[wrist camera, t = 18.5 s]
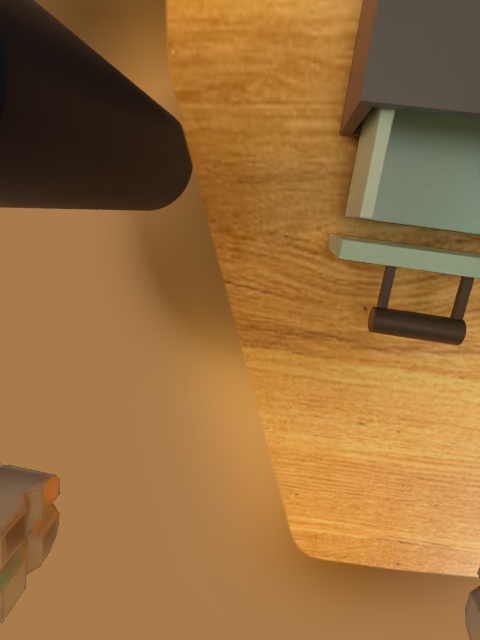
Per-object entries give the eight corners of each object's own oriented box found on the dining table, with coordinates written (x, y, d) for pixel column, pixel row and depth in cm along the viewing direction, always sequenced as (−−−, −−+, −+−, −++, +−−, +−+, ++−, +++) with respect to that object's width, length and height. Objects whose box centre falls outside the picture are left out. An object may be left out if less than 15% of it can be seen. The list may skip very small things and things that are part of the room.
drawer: (472, 330, 33) (526, 365, 26) (316, 307, 34) (324, 334, 27) (546, 76, 28) (640, 26, 21) (362, 58, 29) (387, 3, 22)
